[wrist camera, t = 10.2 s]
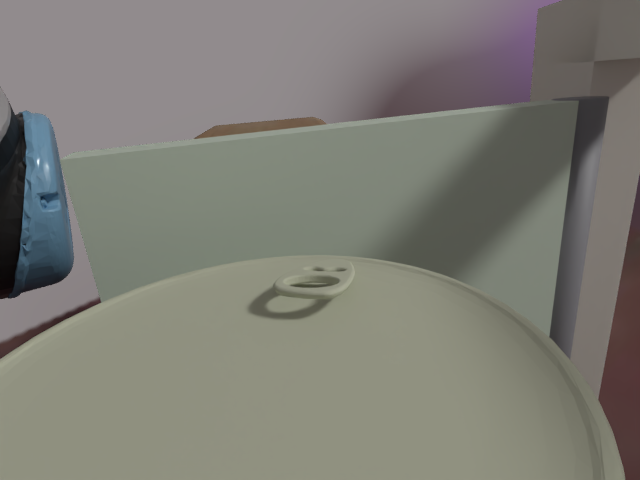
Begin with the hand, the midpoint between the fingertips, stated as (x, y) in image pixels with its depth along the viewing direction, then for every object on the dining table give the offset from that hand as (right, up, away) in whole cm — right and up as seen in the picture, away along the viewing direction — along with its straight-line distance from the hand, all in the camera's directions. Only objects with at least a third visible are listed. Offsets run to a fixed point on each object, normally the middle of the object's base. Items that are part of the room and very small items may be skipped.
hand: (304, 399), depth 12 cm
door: (+4, -11, +9) cm, 15 cm away
